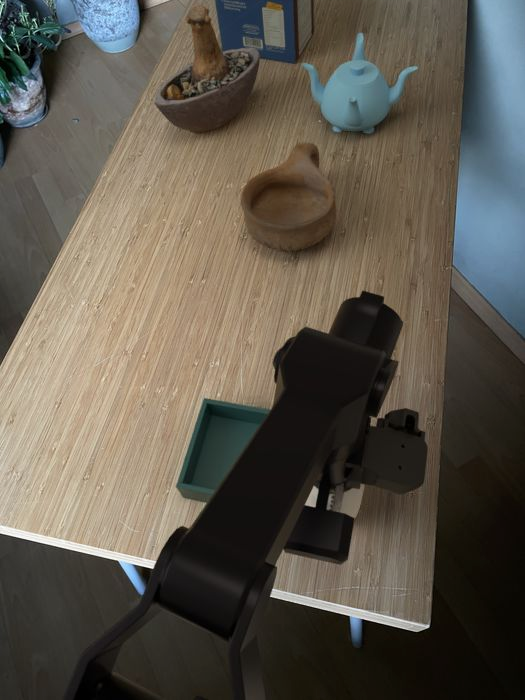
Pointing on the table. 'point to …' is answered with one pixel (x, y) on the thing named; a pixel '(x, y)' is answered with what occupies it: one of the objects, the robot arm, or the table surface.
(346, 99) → the teapot
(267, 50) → the protein box
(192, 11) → the planter
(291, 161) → the bowl
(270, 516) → the robot arm
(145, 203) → the table surface
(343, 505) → the can
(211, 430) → the teal shallow tray
